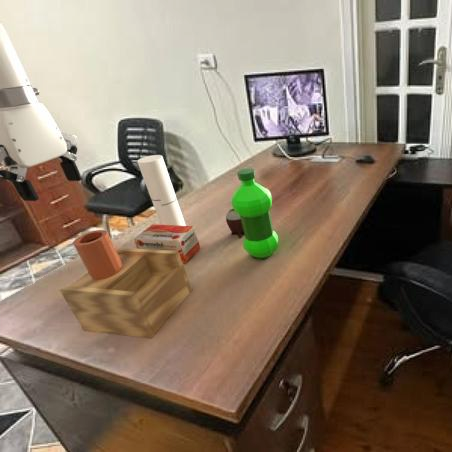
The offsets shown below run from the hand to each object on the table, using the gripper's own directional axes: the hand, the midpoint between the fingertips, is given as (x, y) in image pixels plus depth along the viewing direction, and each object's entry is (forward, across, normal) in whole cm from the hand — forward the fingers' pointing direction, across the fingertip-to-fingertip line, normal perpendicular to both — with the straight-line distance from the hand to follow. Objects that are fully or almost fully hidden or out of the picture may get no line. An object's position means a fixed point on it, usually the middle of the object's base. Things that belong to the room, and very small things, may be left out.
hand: (54, 189), depth 69 cm
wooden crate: (+31, -1, +7) cm, 32 cm away
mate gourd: (+31, -38, +16) cm, 52 cm away
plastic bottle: (+31, -27, +28) cm, 50 cm away
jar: (+20, -1, +2) cm, 21 cm away
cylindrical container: (+32, -38, -9) cm, 50 cm away
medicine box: (+32, -24, 0) cm, 40 cm away
